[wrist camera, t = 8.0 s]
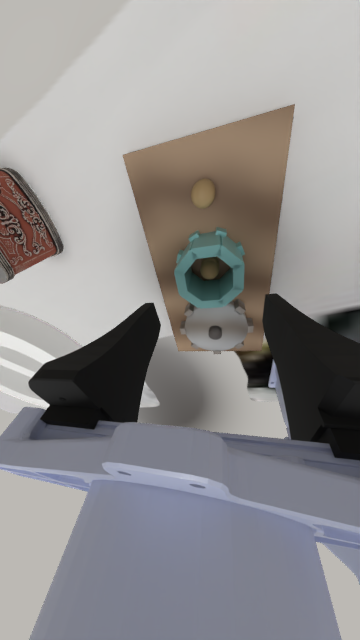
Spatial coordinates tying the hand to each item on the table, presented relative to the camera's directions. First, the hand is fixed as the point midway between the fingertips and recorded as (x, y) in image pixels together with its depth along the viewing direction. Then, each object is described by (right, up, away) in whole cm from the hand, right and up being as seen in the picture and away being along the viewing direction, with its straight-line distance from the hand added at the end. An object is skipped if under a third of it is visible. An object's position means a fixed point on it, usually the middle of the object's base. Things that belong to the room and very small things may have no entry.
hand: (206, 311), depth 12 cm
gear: (+1, +5, +6) cm, 8 cm away
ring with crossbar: (-32, -9, +27) cm, 43 cm away
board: (+2, +4, +8) cm, 10 cm away
